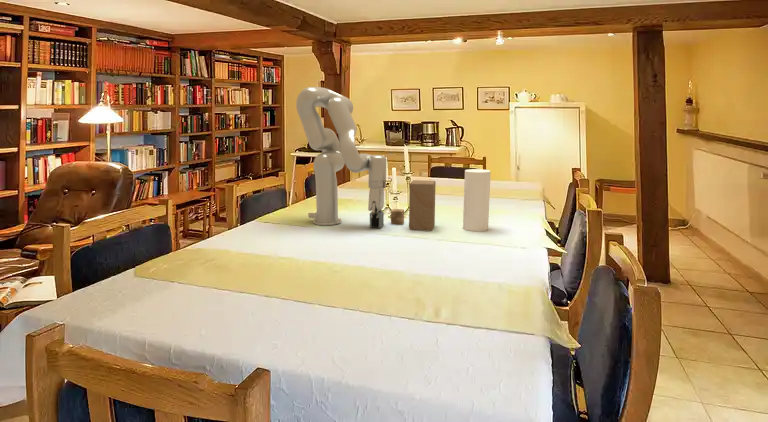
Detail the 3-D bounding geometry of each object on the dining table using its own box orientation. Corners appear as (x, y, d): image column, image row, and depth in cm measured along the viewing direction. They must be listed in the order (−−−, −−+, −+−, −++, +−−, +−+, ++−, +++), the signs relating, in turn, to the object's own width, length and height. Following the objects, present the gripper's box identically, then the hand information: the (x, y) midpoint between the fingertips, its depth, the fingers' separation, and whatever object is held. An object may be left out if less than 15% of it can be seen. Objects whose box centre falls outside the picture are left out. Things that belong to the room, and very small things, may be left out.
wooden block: (432, 230, 217) (433, 183, 213) (408, 229, 219) (409, 183, 215) (434, 225, 227) (435, 180, 223) (412, 224, 229) (412, 179, 225)
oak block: (390, 224, 229) (390, 211, 228) (393, 221, 234) (393, 209, 233) (401, 224, 228) (402, 211, 227) (403, 222, 233) (404, 209, 232)
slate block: (369, 227, 222) (369, 213, 221) (372, 224, 227) (372, 211, 226) (380, 227, 221) (381, 214, 220) (383, 225, 226) (383, 211, 225)
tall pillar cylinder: (492, 228, 222) (495, 170, 217) (479, 232, 214) (481, 172, 209) (472, 224, 229) (474, 168, 224) (458, 228, 221) (459, 170, 216)
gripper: (373, 180, 229) (372, 220, 233) (363, 186, 213) (363, 229, 217) (389, 181, 228) (389, 221, 231) (381, 187, 211) (380, 230, 215)
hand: (376, 225), depth 224 cm, fingers closed on slate block, 5 cm apart
